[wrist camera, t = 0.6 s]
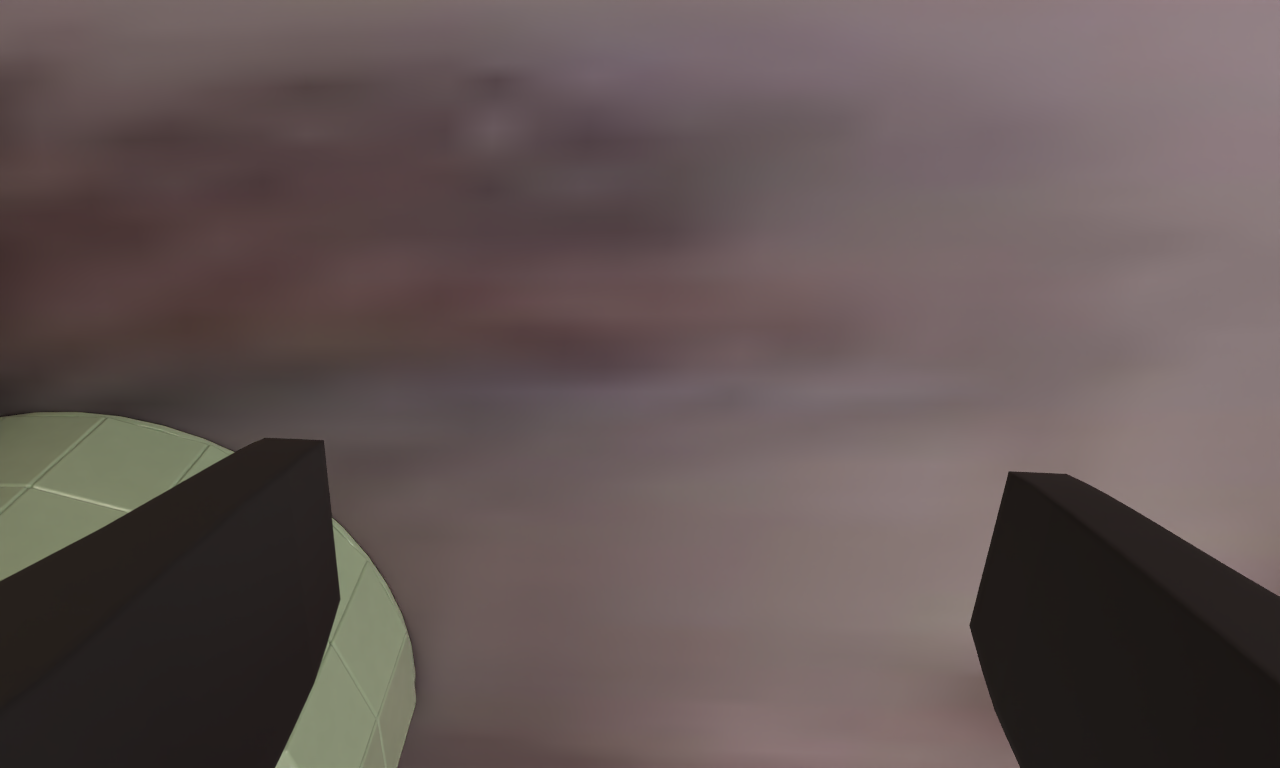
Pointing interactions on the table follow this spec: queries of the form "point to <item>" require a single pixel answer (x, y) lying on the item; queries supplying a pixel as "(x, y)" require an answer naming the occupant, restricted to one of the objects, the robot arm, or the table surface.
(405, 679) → the pot
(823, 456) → the table surface
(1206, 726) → the robot arm
